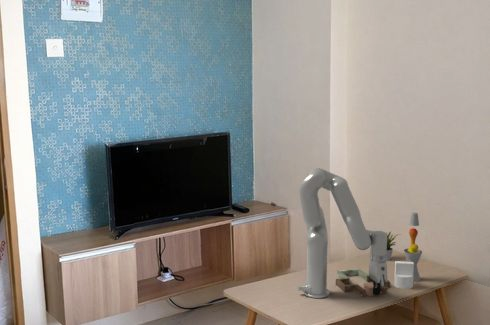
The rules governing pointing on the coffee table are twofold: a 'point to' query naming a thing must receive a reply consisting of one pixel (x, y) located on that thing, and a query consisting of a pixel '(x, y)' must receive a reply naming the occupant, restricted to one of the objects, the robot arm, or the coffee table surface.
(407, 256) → the lava lamp
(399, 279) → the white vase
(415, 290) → the coffee table surface
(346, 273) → the box
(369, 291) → the terracotta block
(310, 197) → the robot arm
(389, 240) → the house plant
